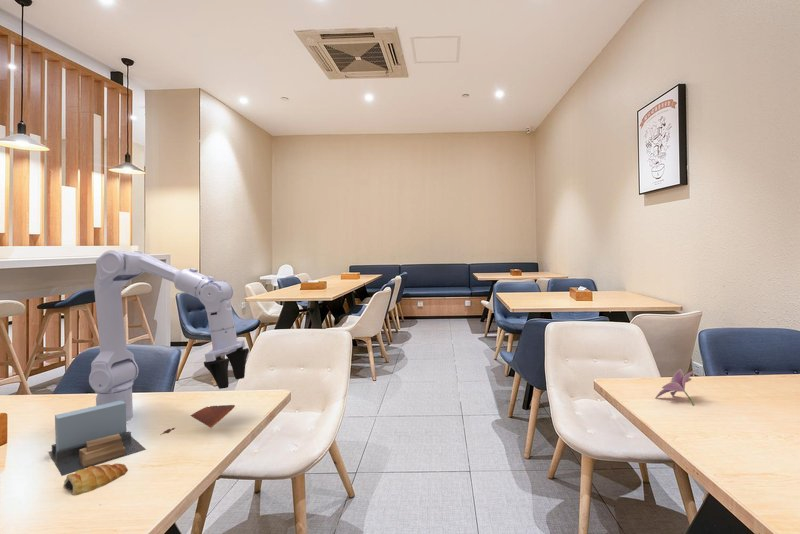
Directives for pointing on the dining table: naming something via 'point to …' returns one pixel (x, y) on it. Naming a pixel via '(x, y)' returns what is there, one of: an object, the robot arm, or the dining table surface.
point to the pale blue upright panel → (89, 424)
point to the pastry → (93, 477)
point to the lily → (676, 384)
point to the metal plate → (69, 457)
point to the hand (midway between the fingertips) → (232, 383)
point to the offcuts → (101, 450)
